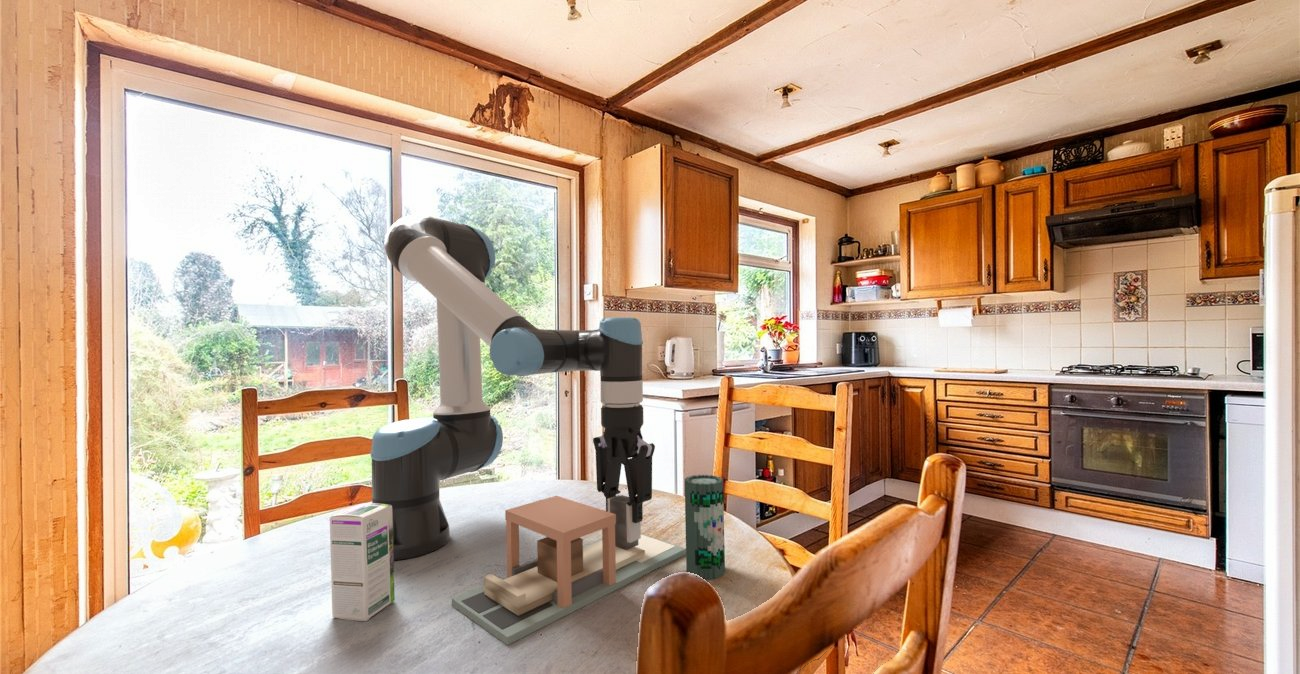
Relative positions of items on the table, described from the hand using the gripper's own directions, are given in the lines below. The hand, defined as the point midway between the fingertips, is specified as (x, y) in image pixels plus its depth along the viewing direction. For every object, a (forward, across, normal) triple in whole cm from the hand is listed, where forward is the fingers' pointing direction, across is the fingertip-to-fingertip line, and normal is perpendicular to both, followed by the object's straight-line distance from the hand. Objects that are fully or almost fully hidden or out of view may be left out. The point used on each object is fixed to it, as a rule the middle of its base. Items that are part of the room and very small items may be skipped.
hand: (624, 536), depth 89 cm
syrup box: (+4, +16, +37) cm, 40 cm away
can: (+4, -14, -5) cm, 15 cm away
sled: (+2, 0, +12) cm, 12 cm away
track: (+4, 0, +10) cm, 11 cm away
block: (+1, 0, +14) cm, 14 cm away
